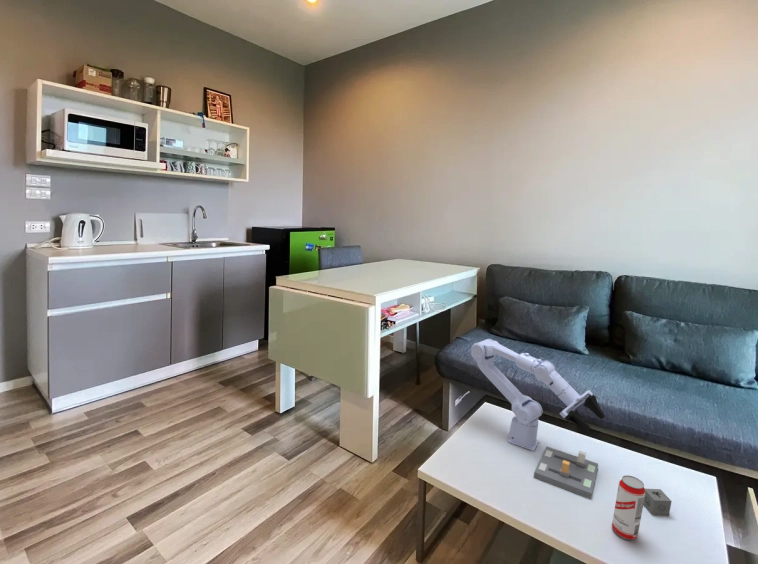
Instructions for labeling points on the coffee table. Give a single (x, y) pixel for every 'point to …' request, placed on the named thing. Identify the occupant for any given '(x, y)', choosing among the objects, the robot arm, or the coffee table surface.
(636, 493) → the beer can
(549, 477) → the slider lever panel
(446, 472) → the coffee table surface
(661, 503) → the dice cube
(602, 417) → the robot arm
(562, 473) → the orange lever
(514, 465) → the coffee table surface
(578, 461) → the white lever
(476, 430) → the coffee table surface
